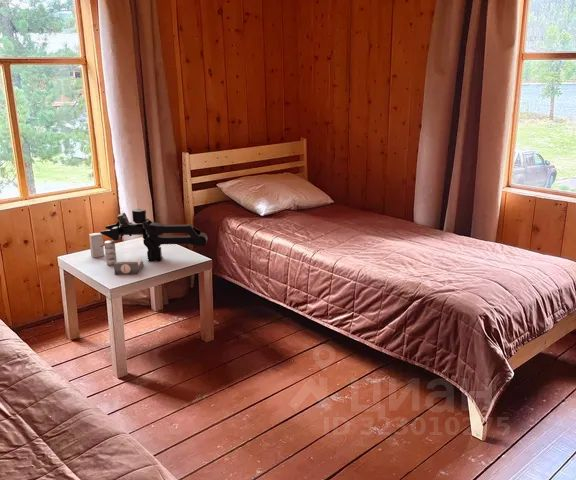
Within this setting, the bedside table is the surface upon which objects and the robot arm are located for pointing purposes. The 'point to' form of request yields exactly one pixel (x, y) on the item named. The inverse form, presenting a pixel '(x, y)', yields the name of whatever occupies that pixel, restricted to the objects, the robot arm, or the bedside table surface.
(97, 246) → the skincare box
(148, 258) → the robot arm
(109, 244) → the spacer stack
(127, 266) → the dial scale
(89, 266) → the bedside table surface
